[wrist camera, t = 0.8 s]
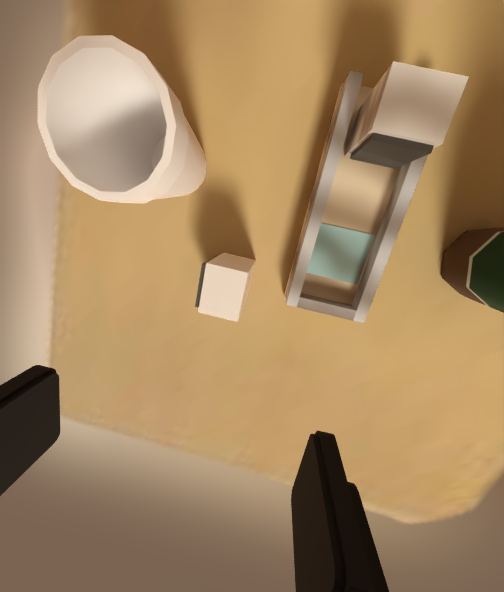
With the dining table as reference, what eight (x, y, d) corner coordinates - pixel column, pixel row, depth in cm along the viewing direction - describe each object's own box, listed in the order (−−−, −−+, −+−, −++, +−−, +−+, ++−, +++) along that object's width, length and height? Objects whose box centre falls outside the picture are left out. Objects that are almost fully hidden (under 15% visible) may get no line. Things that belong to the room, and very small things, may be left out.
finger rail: (339, 89, 25) (372, 16, 16) (431, 108, 25) (517, 45, 16) (283, 295, 32) (285, 325, 23) (356, 312, 32) (387, 349, 23)
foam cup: (234, 145, 28) (199, 85, 15) (200, 223, 31) (146, 225, 18) (156, 101, 27) (55, 2, 15) (128, 184, 30) (23, 159, 18)
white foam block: (213, 289, 33) (193, 310, 25) (220, 251, 31) (200, 261, 24) (247, 298, 33) (237, 321, 25) (255, 260, 31) (248, 272, 24)
